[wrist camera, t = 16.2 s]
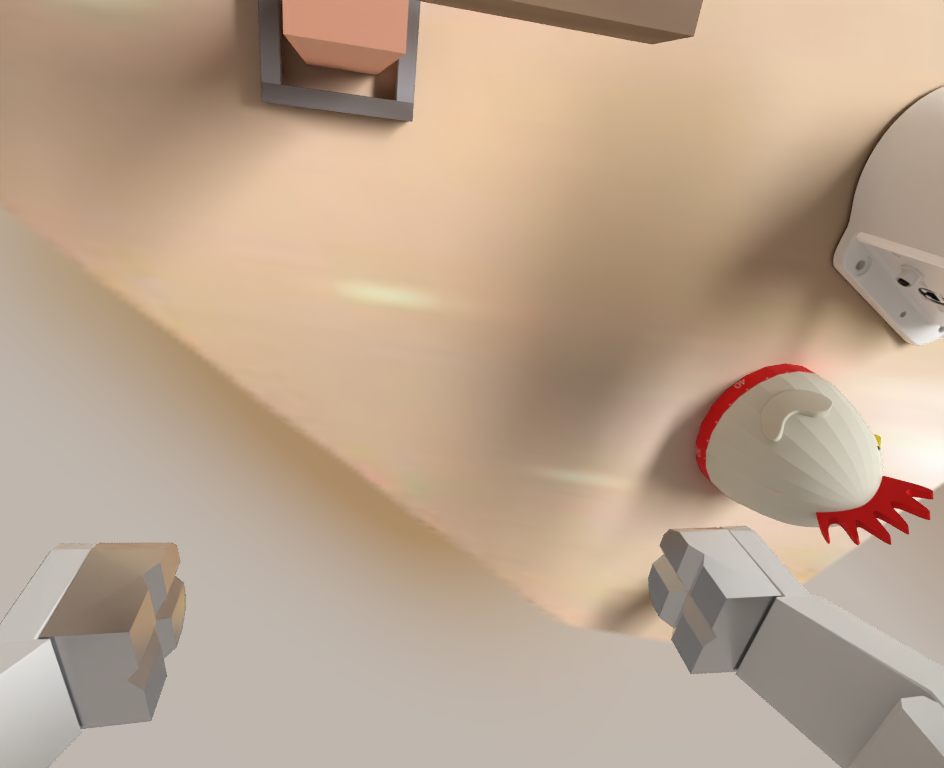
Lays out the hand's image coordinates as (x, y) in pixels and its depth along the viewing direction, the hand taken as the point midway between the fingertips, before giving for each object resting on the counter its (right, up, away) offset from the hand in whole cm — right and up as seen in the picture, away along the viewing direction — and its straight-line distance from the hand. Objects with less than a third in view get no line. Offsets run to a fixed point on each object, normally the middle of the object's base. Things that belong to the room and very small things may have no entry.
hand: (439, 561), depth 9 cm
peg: (-7, +23, +22) cm, 33 cm away
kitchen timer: (+28, -1, +44) cm, 52 cm away
